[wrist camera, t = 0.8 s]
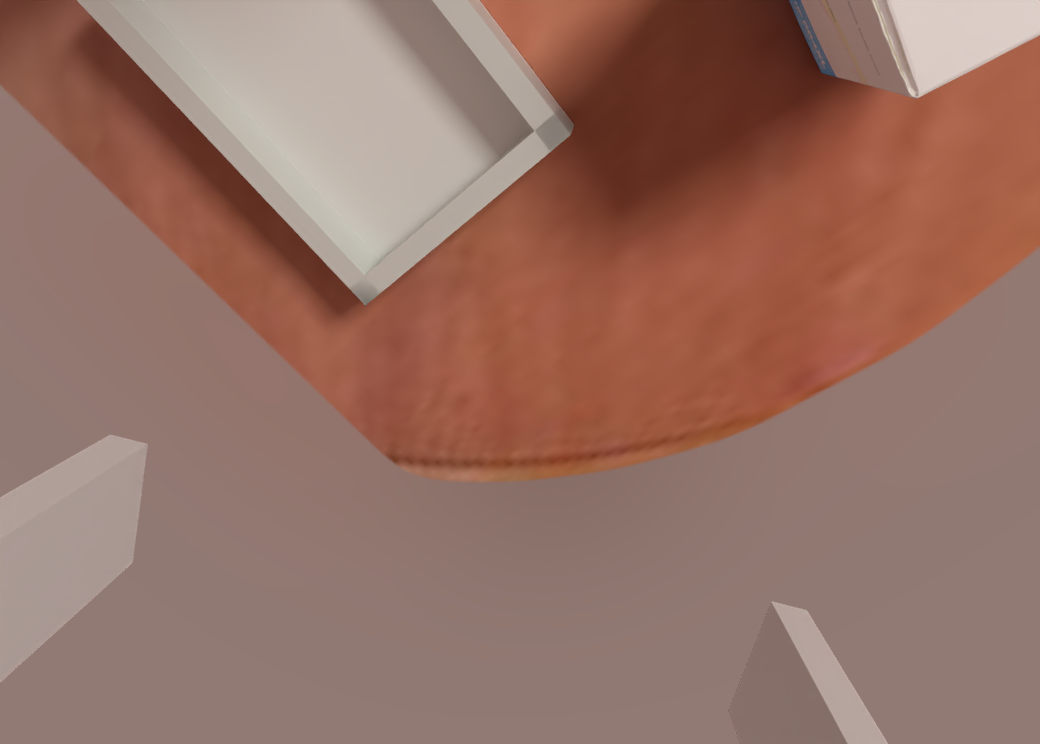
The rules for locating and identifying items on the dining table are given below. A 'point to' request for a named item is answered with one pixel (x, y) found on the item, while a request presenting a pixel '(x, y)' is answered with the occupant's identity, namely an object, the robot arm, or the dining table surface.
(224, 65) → the tray
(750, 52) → the dining table surface
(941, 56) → the ink box
